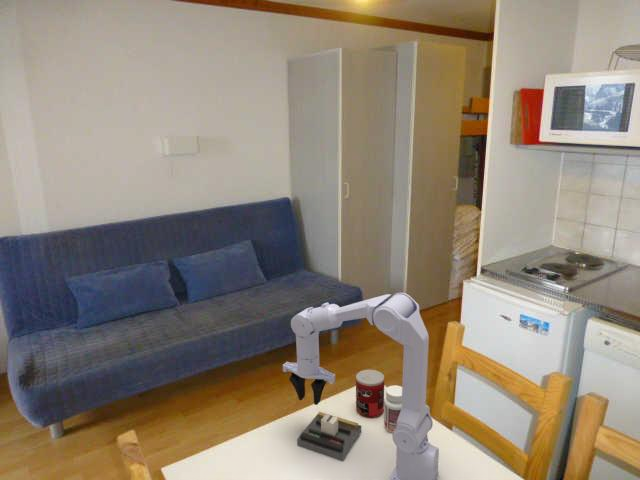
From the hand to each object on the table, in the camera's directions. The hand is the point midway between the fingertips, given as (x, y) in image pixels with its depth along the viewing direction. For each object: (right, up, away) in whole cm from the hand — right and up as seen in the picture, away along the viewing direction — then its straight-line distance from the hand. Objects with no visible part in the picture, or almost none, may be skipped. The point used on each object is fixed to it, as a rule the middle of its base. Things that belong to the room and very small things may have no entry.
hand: (309, 400), depth 124 cm
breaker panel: (+5, -10, 0) cm, 11 cm away
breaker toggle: (+5, -8, -1) cm, 10 cm away
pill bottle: (+23, -9, +4) cm, 25 cm away
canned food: (+17, -7, +11) cm, 22 cm away
